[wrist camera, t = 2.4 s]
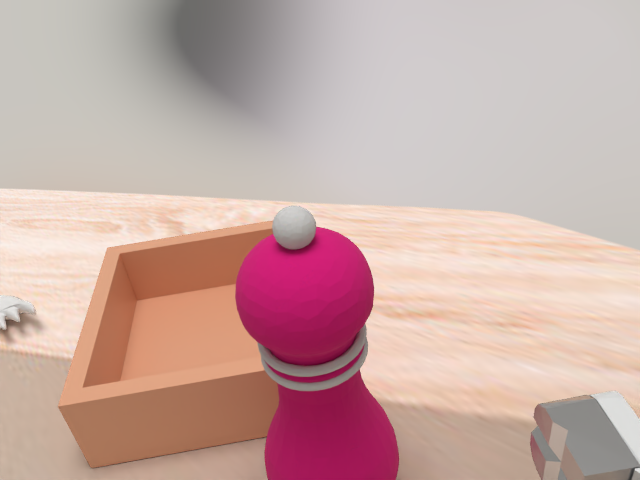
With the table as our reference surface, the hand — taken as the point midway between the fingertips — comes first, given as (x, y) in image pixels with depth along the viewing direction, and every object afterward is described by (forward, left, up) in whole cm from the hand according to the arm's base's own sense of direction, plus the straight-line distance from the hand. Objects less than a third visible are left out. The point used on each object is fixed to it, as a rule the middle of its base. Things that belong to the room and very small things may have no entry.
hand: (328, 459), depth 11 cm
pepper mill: (0, -13, -22) cm, 26 cm away
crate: (+7, -27, -22) cm, 36 cm away
